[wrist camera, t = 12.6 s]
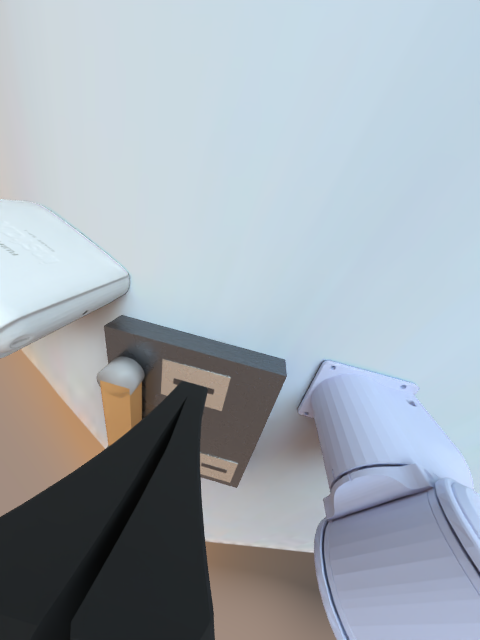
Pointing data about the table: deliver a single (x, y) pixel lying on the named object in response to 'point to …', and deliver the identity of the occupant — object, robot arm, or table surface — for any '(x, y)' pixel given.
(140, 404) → the tan grey headed bar
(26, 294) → the photo printer
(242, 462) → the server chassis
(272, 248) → the table surface
